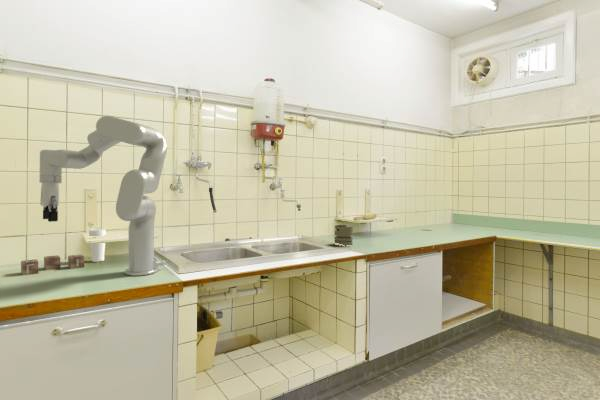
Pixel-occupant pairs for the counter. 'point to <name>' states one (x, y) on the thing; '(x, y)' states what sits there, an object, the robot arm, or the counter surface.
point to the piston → (343, 234)
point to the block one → (76, 261)
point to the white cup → (97, 245)
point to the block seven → (29, 267)
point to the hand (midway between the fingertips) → (50, 220)
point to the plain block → (51, 262)
